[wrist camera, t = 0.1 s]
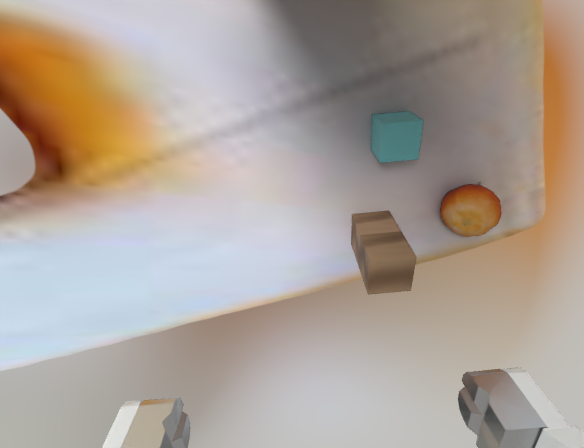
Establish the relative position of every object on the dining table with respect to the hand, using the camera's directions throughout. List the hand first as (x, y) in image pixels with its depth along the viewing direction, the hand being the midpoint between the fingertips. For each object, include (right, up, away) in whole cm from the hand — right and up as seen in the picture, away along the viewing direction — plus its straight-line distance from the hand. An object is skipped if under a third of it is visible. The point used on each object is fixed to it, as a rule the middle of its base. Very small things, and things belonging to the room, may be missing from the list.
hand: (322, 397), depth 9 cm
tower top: (+12, +1, +39) cm, 41 cm away
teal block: (+13, +18, +35) cm, 42 cm away
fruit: (+26, +9, +42) cm, 50 cm away
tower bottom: (+12, +4, +44) cm, 46 cm away
